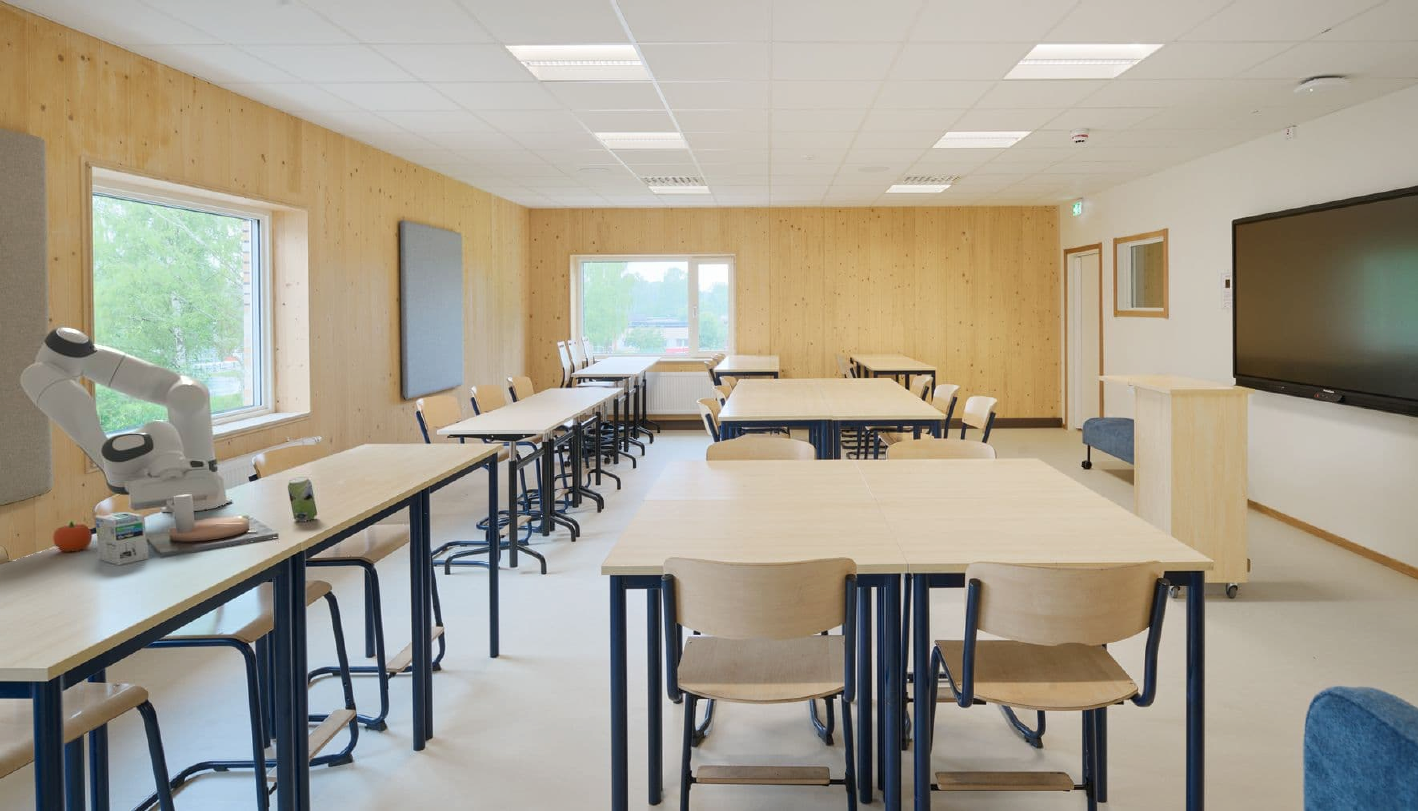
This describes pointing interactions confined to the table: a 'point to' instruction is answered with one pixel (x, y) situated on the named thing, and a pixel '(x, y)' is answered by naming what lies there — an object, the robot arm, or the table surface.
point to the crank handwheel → (202, 523)
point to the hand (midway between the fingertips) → (180, 516)
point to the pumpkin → (72, 537)
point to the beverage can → (302, 499)
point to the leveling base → (171, 547)
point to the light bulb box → (121, 537)
